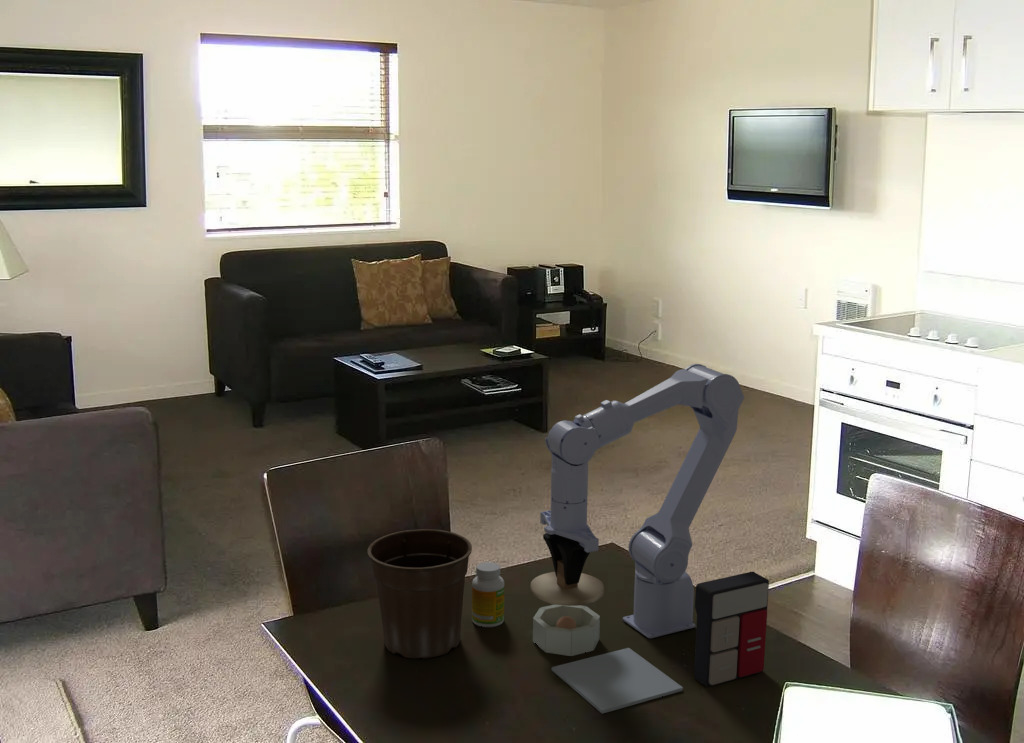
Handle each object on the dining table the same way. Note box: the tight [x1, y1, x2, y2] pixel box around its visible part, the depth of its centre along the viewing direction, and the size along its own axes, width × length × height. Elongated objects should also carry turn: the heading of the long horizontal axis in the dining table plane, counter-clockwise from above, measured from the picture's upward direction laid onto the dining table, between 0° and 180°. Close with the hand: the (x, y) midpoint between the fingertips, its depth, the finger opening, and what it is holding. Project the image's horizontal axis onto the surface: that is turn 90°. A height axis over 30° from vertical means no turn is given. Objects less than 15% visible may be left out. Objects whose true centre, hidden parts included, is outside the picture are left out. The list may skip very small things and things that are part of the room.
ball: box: [556, 616, 576, 629], centre depth 167 cm, size 3×3×3 cm
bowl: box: [532, 604, 601, 657], centre depth 167 cm, size 10×10×4 cm
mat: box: [551, 647, 684, 715], centre depth 155 cm, size 14×14×1 cm
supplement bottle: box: [471, 561, 505, 628], centre depth 173 cm, size 5×5×10 cm
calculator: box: [693, 571, 770, 688], centre depth 155 cm, size 11×4×15 cm, turn 117°
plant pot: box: [367, 528, 473, 659], centre depth 164 cm, size 16×16×16 cm
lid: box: [530, 560, 605, 606], centre depth 165 cm, size 12×12×5 cm
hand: (567, 579), depth 165 cm, fingers closed on lid, 2 cm apart
